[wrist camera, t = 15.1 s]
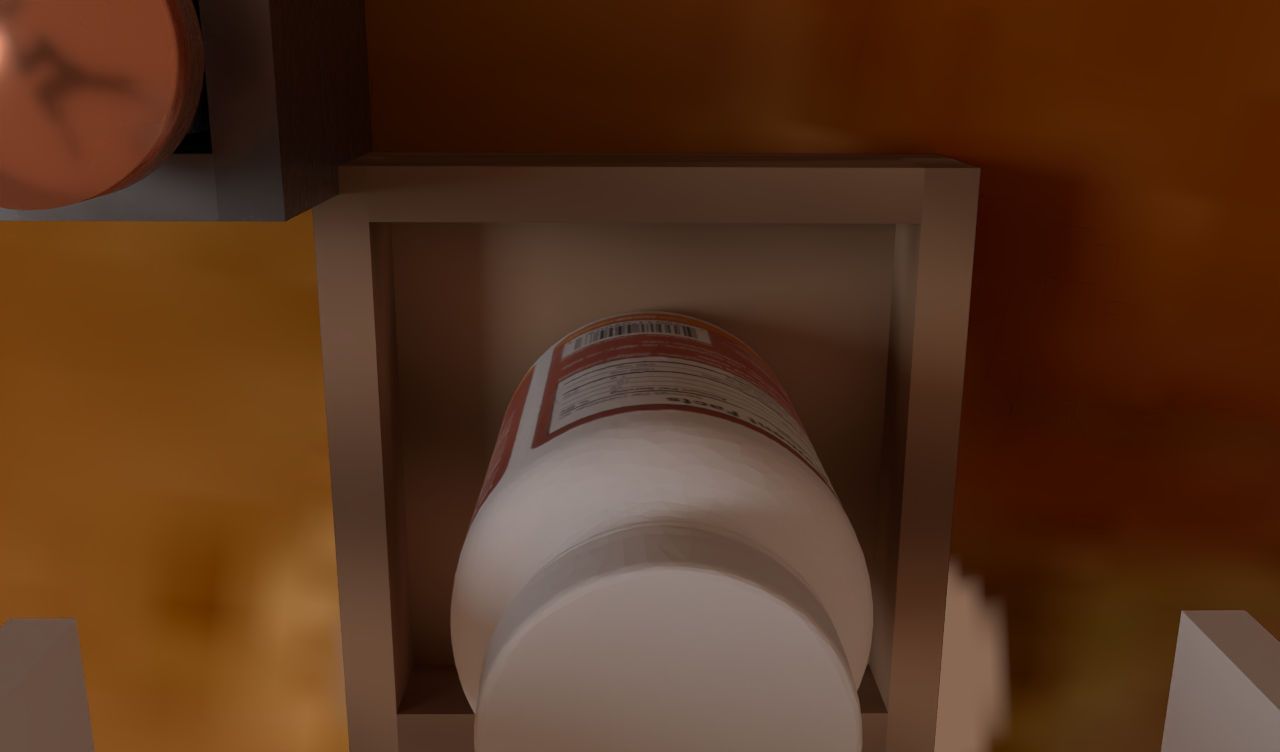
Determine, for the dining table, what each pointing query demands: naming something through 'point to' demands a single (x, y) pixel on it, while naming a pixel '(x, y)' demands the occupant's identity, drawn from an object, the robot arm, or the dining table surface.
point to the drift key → (94, 95)
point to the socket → (257, 119)
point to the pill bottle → (659, 558)
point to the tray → (614, 284)
